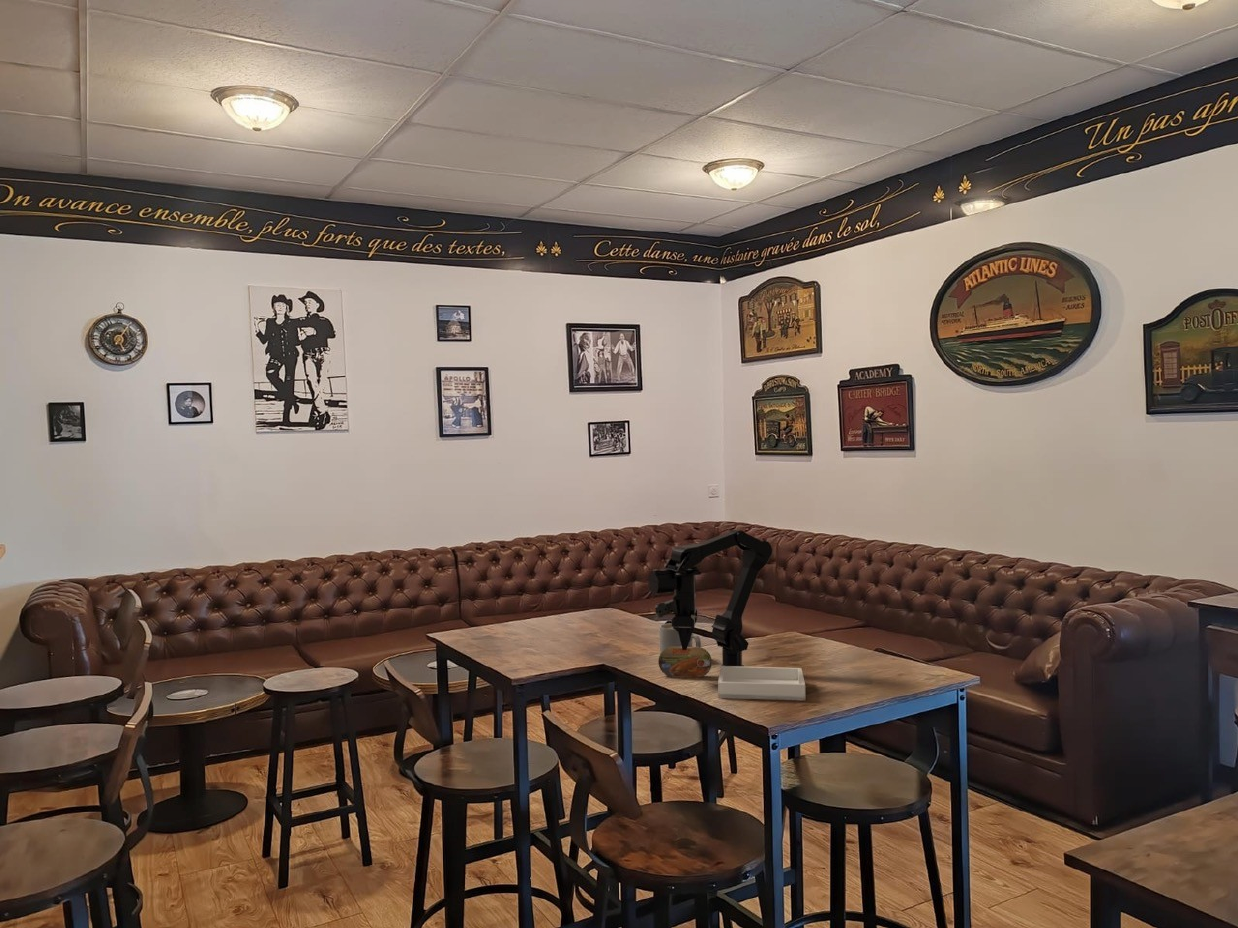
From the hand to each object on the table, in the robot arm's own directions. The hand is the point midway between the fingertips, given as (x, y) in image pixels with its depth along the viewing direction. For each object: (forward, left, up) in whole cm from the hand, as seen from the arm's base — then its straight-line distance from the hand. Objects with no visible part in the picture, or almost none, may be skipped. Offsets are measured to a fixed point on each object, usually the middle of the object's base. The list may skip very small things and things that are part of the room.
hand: (685, 646), depth 255 cm
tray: (+13, +21, -8) cm, 26 cm away
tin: (0, 0, -9) cm, 9 cm away
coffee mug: (-20, -3, -9) cm, 22 cm away
